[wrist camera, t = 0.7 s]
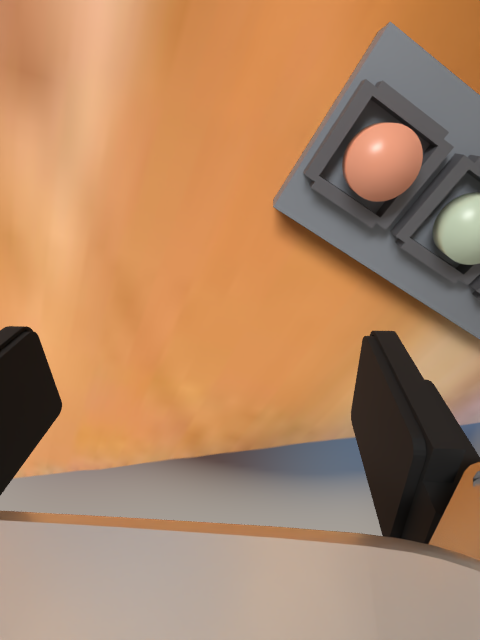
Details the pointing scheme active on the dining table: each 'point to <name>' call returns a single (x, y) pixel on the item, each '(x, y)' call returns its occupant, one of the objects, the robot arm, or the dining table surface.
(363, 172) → the terracotta button
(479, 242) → the sage button
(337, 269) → the dining table surface
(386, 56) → the button panel
